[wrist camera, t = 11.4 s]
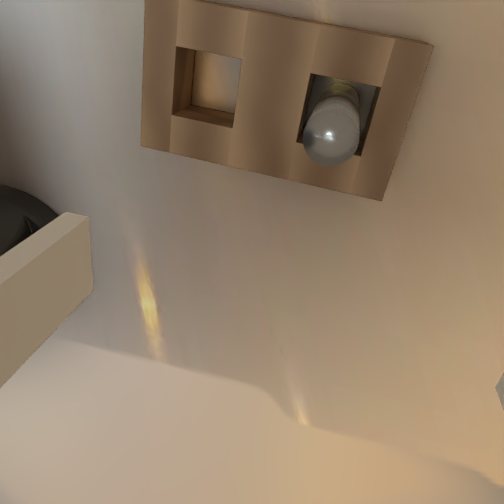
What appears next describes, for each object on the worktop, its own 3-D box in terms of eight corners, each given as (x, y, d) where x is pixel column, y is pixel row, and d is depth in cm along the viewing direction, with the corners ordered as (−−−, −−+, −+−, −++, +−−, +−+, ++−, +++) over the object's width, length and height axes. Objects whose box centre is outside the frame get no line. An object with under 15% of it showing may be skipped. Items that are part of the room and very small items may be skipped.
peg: (313, 121, 33) (297, 159, 25) (323, 79, 32) (309, 104, 23) (353, 129, 33) (350, 171, 24) (364, 87, 31) (366, 116, 23)
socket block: (161, 133, 36) (140, 146, 33) (169, -7, 31) (145, -9, 28) (379, 182, 34) (381, 201, 31) (425, 42, 29) (433, 46, 26)
